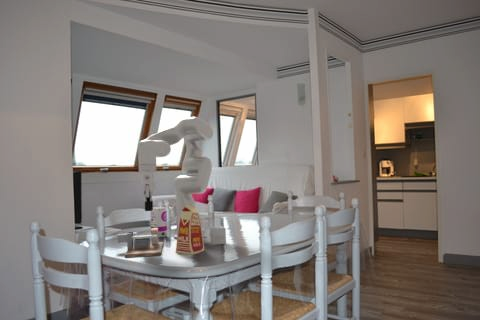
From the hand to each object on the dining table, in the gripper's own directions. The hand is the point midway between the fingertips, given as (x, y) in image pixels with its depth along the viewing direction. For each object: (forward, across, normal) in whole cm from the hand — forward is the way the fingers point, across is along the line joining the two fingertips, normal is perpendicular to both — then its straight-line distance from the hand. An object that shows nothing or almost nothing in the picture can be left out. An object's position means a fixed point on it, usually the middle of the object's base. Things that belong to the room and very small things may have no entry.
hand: (148, 210), depth 164 cm
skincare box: (+17, +4, -30) cm, 35 cm away
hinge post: (+16, -1, +8) cm, 18 cm away
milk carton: (+17, -9, -17) cm, 26 cm away
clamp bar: (+13, -1, +5) cm, 14 cm away
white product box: (+17, +34, -2) cm, 38 cm away
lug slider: (+16, +4, -2) cm, 16 cm away
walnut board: (+17, -1, +2) cm, 17 cm away
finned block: (+16, -1, +3) cm, 16 cm away
